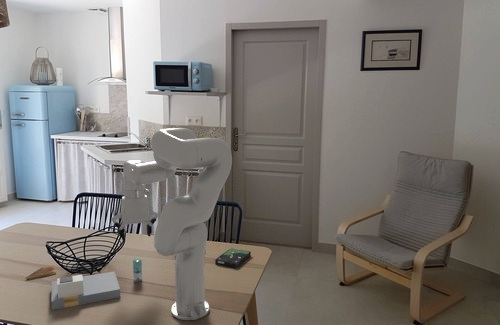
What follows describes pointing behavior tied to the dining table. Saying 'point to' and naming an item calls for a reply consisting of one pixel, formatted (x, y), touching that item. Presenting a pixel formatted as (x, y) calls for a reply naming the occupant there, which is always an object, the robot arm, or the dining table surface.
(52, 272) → the shard
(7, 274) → the dining table surface
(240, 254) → the disk drive
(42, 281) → the dining table surface
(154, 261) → the dining table surface
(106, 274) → the subfloor panel
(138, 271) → the green silver cylinder
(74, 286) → the white rectangular block
